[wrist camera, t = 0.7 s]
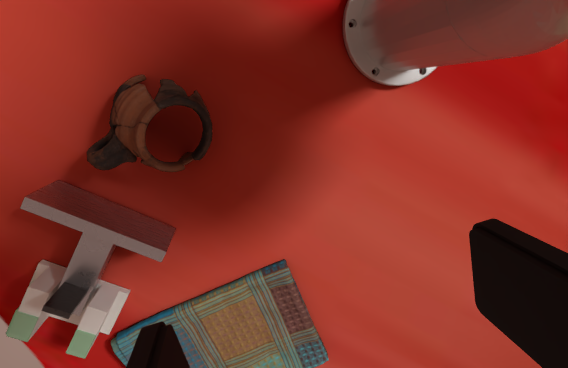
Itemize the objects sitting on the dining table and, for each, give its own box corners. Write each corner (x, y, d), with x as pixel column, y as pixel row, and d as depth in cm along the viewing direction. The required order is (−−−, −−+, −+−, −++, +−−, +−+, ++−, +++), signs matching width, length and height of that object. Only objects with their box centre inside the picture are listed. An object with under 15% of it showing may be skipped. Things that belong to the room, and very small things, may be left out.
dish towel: (110, 330, 42) (103, 344, 39) (283, 254, 42) (286, 263, 40) (174, 422, 47) (171, 440, 44) (327, 352, 48) (333, 366, 45)
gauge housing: (42, 259, 37) (14, 283, 33) (130, 290, 40) (117, 317, 35) (24, 302, 38) (-6, 332, 34) (111, 330, 41) (95, 361, 36)
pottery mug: (157, 49, 34) (187, 64, 28) (204, 120, 41) (237, 144, 35) (53, 120, 32) (63, 152, 26) (121, 183, 38) (142, 220, 32)
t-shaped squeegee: (58, 179, 35) (12, 203, 28) (175, 228, 38) (162, 260, 31) (20, 270, 37) (-33, 315, 30) (135, 309, 40) (114, 358, 33)
